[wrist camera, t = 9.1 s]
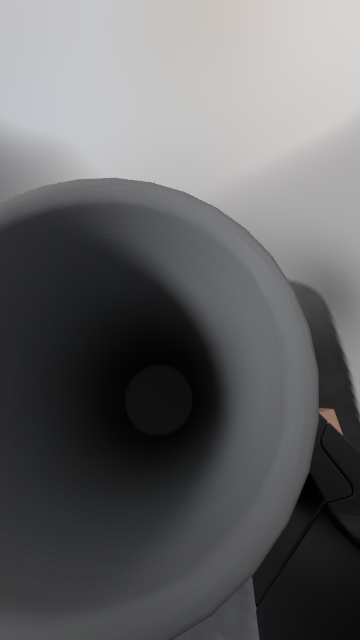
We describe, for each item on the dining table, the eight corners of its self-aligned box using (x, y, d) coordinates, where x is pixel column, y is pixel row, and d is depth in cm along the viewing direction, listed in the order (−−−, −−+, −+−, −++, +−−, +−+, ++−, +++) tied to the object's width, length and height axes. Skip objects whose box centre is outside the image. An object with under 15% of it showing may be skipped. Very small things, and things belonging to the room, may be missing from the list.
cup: (86, 409, 18) (-266, 407, 4) (151, 330, 20) (77, 123, 5) (168, 479, 17) (101, 881, 2) (229, 388, 18) (400, 314, 4)
